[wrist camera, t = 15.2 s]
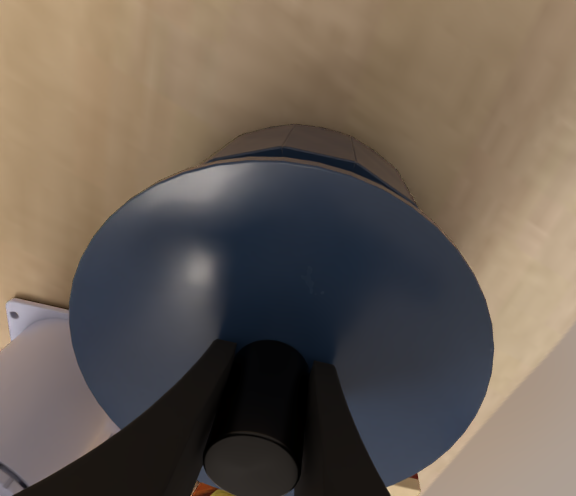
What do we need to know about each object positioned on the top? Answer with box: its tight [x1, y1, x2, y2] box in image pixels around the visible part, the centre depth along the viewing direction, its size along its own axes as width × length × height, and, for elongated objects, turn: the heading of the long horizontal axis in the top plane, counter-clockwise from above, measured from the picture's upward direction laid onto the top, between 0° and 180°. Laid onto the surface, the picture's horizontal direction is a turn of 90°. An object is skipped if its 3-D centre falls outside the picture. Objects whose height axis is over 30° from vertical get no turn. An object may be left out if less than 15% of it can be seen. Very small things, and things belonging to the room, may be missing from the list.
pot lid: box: [69, 157, 494, 496], centre depth 11 cm, size 13×13×4 cm
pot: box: [199, 124, 419, 209], centre depth 18 cm, size 12×12×6 cm
